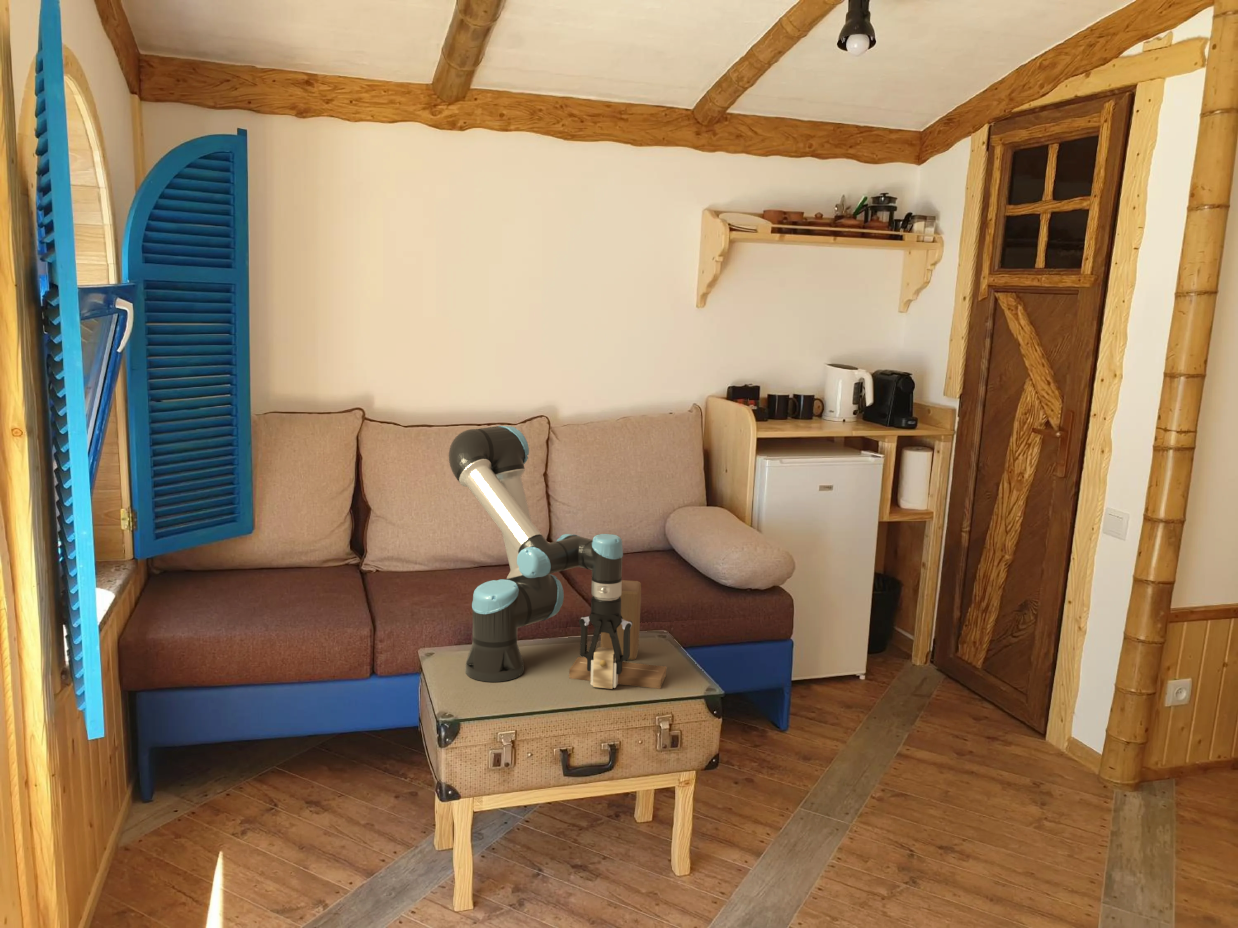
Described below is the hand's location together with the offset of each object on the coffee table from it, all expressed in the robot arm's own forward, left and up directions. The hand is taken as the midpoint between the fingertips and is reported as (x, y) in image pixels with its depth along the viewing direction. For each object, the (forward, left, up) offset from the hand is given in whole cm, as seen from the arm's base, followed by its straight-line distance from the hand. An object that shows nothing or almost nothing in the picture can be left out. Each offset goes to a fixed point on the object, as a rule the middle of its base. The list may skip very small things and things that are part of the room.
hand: (604, 683), depth 250 cm
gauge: (0, +5, 0) cm, 5 cm away
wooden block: (-1, +24, -1) cm, 24 cm away
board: (+2, +7, -1) cm, 8 cm away
